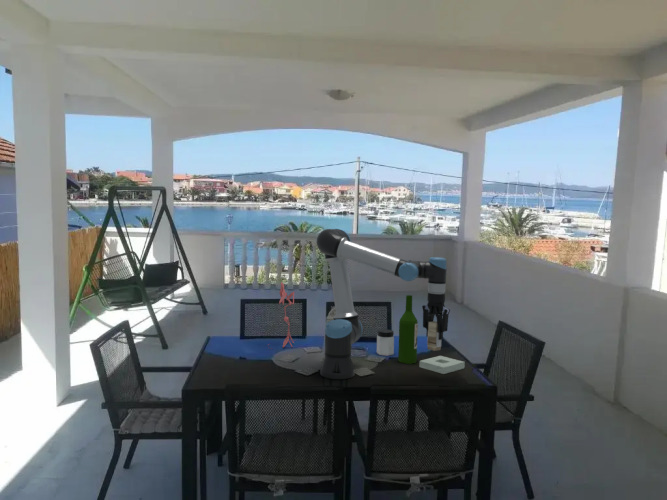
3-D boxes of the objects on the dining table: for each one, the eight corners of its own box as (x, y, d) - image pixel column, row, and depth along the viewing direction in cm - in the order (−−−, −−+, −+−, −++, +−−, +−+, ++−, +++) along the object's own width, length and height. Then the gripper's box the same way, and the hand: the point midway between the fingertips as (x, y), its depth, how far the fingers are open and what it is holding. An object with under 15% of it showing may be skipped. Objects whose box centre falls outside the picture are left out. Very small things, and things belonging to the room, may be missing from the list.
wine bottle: (416, 364, 234) (418, 297, 233) (397, 363, 236) (399, 296, 235) (416, 359, 243) (418, 294, 242) (398, 358, 245) (400, 294, 243)
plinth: (443, 374, 219) (443, 367, 219) (419, 367, 230) (419, 360, 230) (464, 368, 230) (464, 361, 229) (440, 361, 240) (440, 355, 240)
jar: (385, 356, 248) (386, 333, 247) (373, 353, 253) (374, 330, 253) (396, 353, 254) (397, 331, 253) (384, 350, 260) (385, 328, 259)
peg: (434, 350, 211) (436, 323, 211) (427, 349, 215) (428, 322, 214) (440, 349, 214) (441, 322, 214) (433, 347, 217) (434, 321, 217)
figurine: (296, 340, 280) (296, 279, 278) (293, 351, 254) (292, 284, 252) (269, 340, 280) (269, 279, 278) (263, 351, 254) (263, 284, 252)
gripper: (458, 294, 209) (455, 348, 210) (426, 289, 222) (424, 340, 223) (447, 295, 204) (444, 350, 205) (415, 290, 217) (413, 342, 218)
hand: (434, 345), depth 214 cm, fingers closed on peg, 4 cm apart
